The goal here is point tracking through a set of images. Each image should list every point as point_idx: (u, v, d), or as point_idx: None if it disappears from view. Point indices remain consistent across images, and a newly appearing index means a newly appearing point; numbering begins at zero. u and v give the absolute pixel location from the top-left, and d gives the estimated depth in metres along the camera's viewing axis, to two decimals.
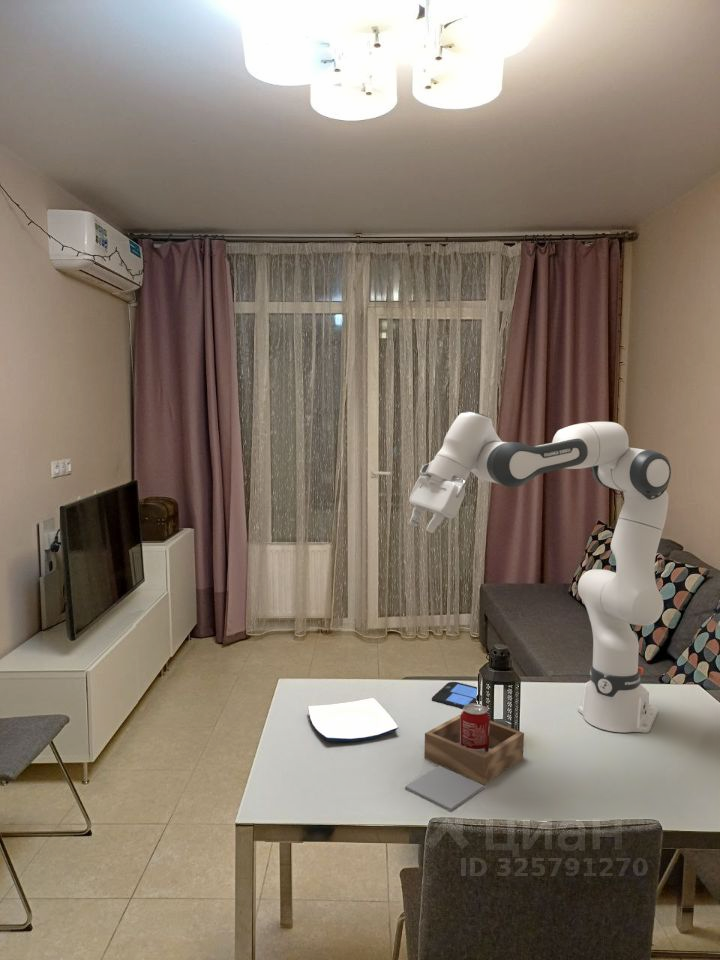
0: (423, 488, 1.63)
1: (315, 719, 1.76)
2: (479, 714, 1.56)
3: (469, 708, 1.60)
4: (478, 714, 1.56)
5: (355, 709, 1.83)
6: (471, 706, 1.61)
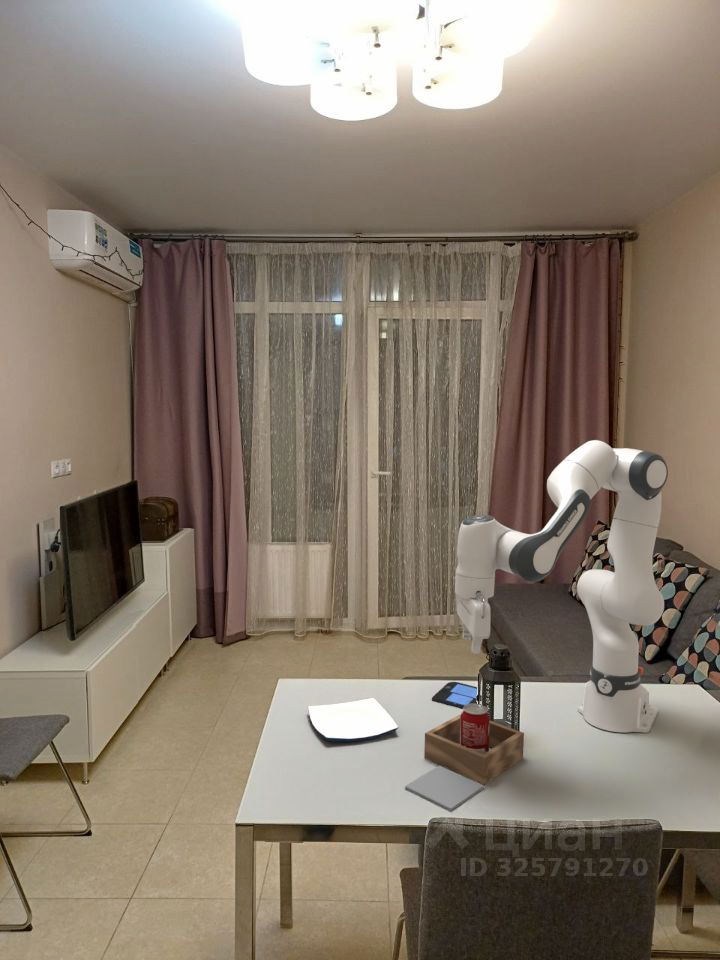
0: (462, 601, 1.62)
1: (315, 719, 1.76)
2: (479, 714, 1.56)
3: (469, 708, 1.60)
4: (478, 714, 1.56)
5: (355, 709, 1.83)
6: (471, 706, 1.61)
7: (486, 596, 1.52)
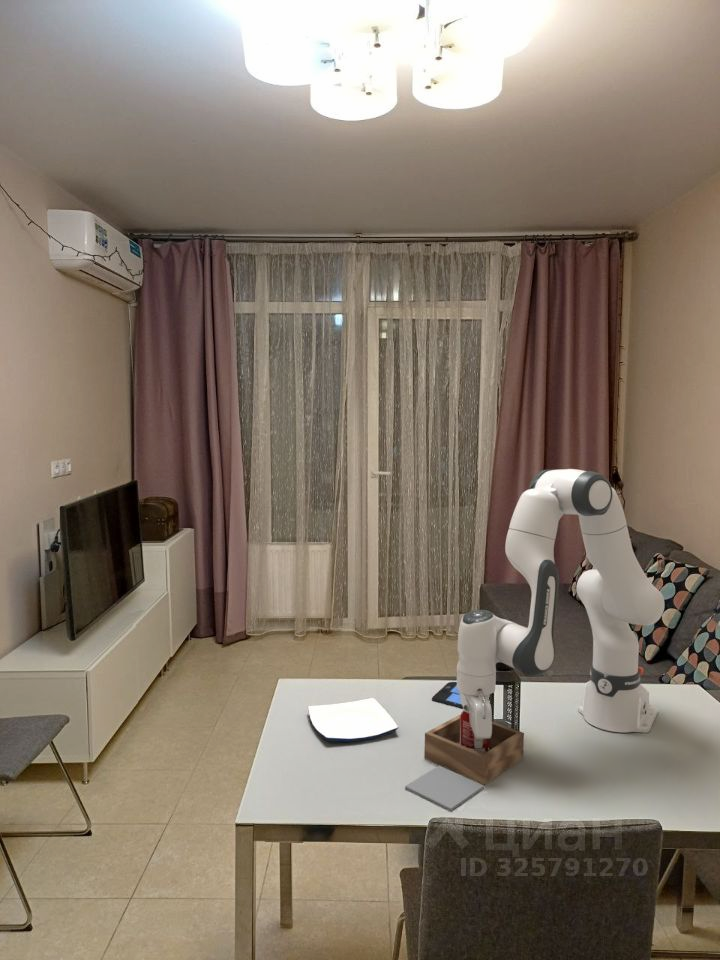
0: None
1: (315, 719, 1.76)
2: None
3: None
4: None
5: (355, 709, 1.83)
6: None
7: (487, 693, 1.54)
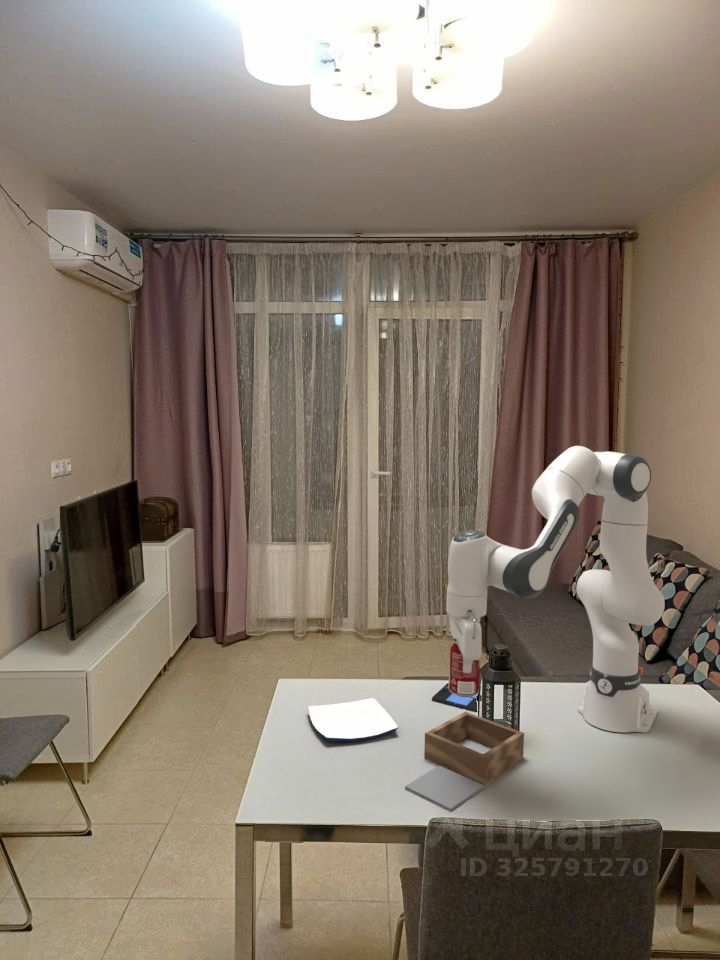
0: None
1: (315, 719, 1.76)
2: None
3: None
4: None
5: (355, 709, 1.83)
6: None
7: (478, 615, 1.47)
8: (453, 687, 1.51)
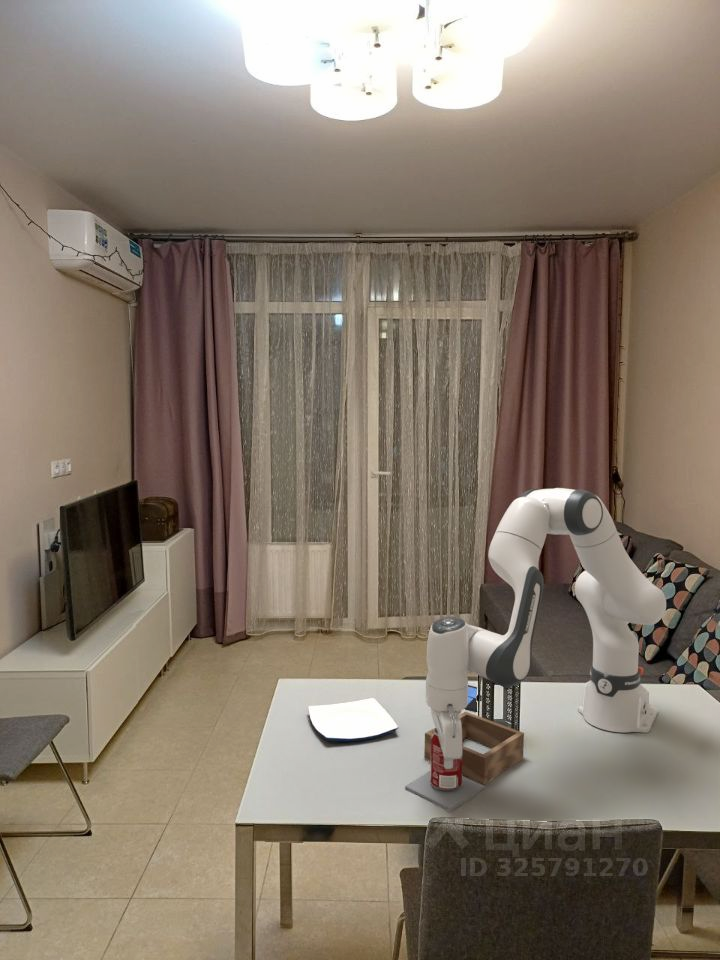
0: None
1: (315, 719, 1.76)
2: None
3: None
4: None
5: (355, 709, 1.83)
6: None
7: (458, 709, 1.41)
8: (435, 781, 1.45)
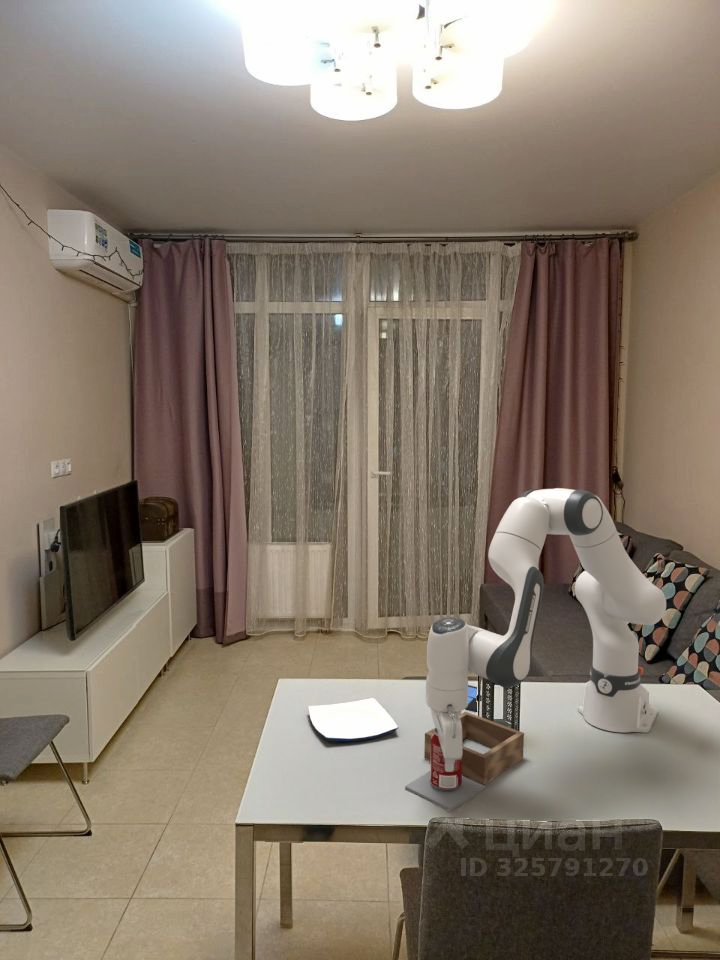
0: None
1: (315, 719, 1.76)
2: None
3: None
4: None
5: (355, 709, 1.83)
6: None
7: (458, 709, 1.41)
8: (435, 781, 1.45)
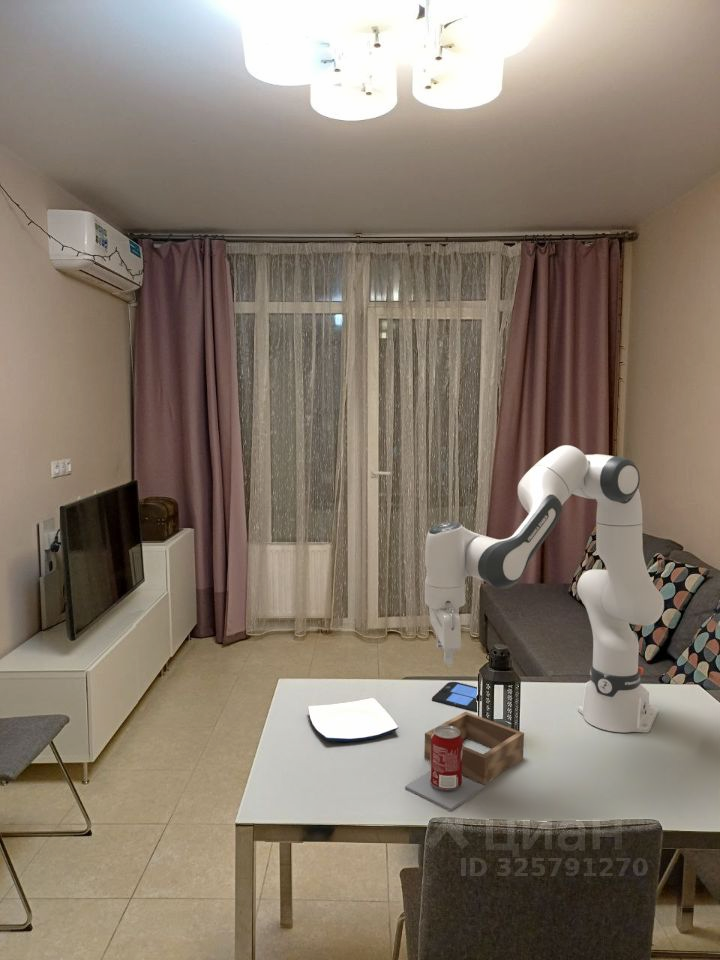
0: None
1: (315, 719, 1.76)
2: (450, 738, 1.43)
3: (441, 730, 1.47)
4: (449, 738, 1.43)
5: (355, 709, 1.83)
6: (443, 728, 1.48)
7: (456, 606, 1.48)
8: (435, 781, 1.45)
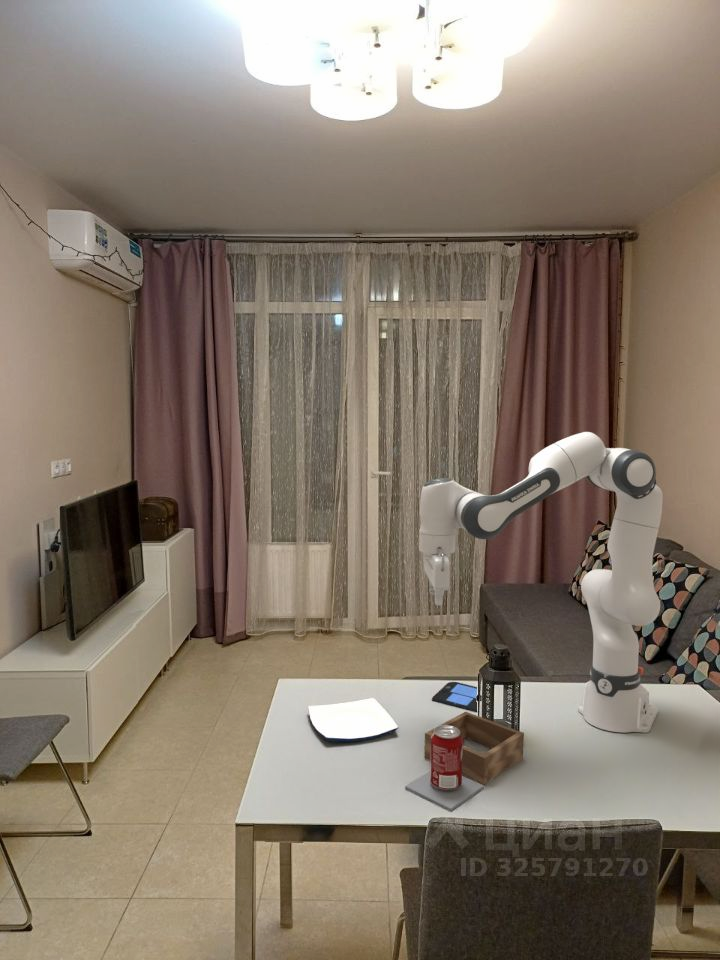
0: (427, 559, 1.74)
1: (315, 719, 1.76)
2: (450, 738, 1.43)
3: (441, 730, 1.47)
4: (449, 738, 1.43)
5: (355, 709, 1.83)
6: (443, 728, 1.48)
7: (447, 552, 1.65)
8: (435, 781, 1.45)
